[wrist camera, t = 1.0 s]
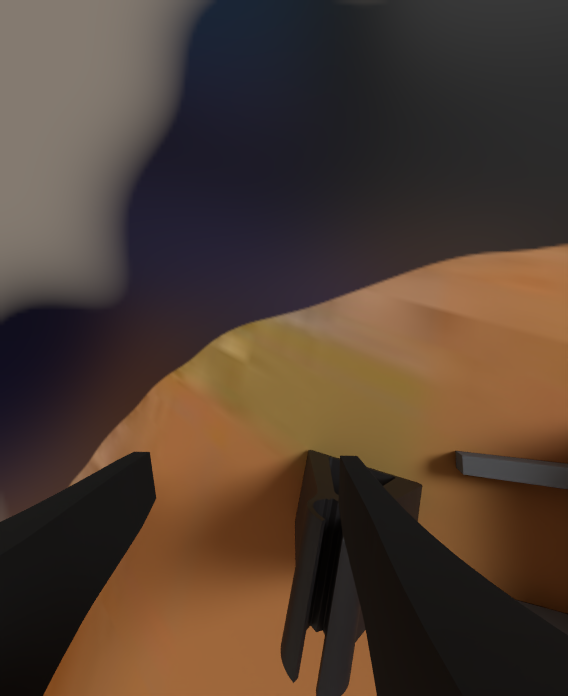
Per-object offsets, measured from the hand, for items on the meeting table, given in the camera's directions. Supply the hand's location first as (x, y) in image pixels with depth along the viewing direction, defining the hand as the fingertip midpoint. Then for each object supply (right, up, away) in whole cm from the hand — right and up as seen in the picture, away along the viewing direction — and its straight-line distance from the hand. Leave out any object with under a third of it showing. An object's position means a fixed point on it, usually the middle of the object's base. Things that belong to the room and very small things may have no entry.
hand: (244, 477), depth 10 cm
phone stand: (+7, -8, +12) cm, 16 cm away
